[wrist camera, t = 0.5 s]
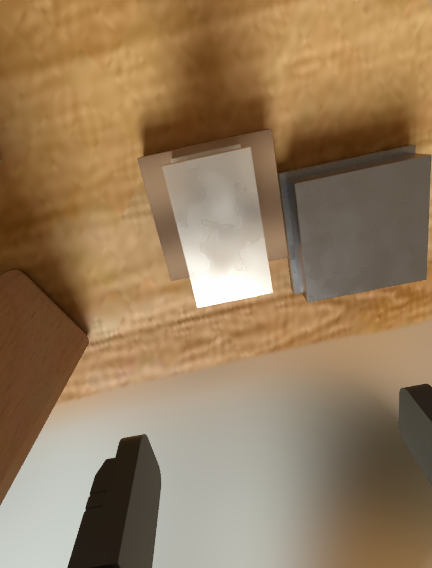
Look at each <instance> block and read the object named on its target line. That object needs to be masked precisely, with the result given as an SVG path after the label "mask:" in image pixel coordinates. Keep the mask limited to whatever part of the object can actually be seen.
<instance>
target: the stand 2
mask: <svg viewBox="0 0 432 568" xmlns="http://www.w3.org/2000/svg"><path fill="white" fill-rule="evenodd" d="M430 172H431V155H427V154H417V153H415V145H404V146H400V147H395V148H390V149H385V150H381V151H376V152H371V153H367V154H362V155H357V156H353V157H348V158H343V159H339V160H334V161H329V162H325V163H320V164H315V165H311V166H306V167H301V168H297V169H292V170H287V171H283V172H278V173H277V176H278V184H279V191H280V199H281V207H282V215H283V223H284V230H285V238H286V246H287V254H288V264H289V272H290V280H291V288H292V291H293V293H294V294H298V293H302V294H303V296H304V297H305V299H306V300H307V302H313V301H318V300H324V299H329V298H334V297H339V296H344V295H349V294H354V293H359V292H365V291H370V290H375V289H380V288H385V287H390V286H395V285H400V284H406V283H411V282H416V281H421V280H426V277H427V251H428V224H429V198H430Z"/></svg>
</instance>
